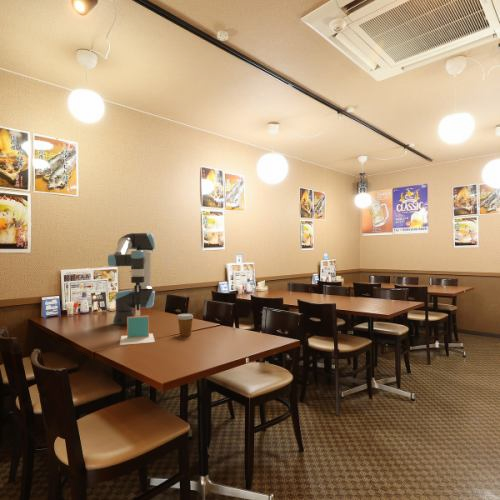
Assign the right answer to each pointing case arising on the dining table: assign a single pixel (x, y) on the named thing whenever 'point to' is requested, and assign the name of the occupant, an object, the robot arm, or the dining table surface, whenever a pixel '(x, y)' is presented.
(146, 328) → the tile
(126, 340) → the mat
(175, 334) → the dining table surface
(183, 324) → the disposable coffee cup
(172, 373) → the dining table surface
